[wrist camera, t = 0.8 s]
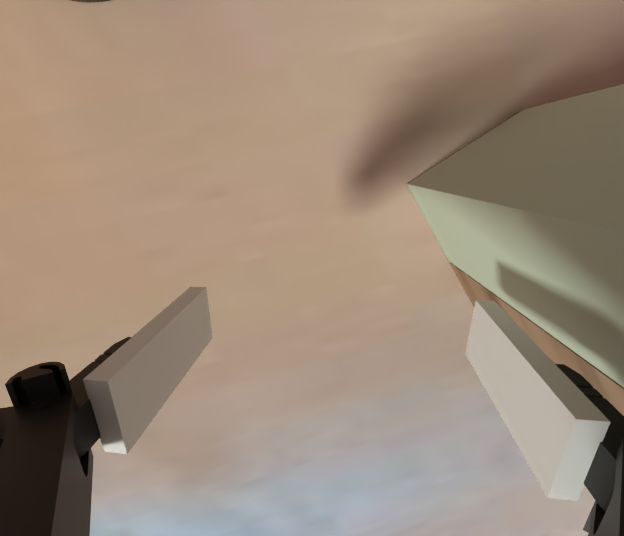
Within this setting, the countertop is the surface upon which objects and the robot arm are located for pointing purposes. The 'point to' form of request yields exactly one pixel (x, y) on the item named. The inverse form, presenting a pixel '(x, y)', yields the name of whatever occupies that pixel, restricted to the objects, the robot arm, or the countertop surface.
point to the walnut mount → (548, 343)
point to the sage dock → (543, 219)
